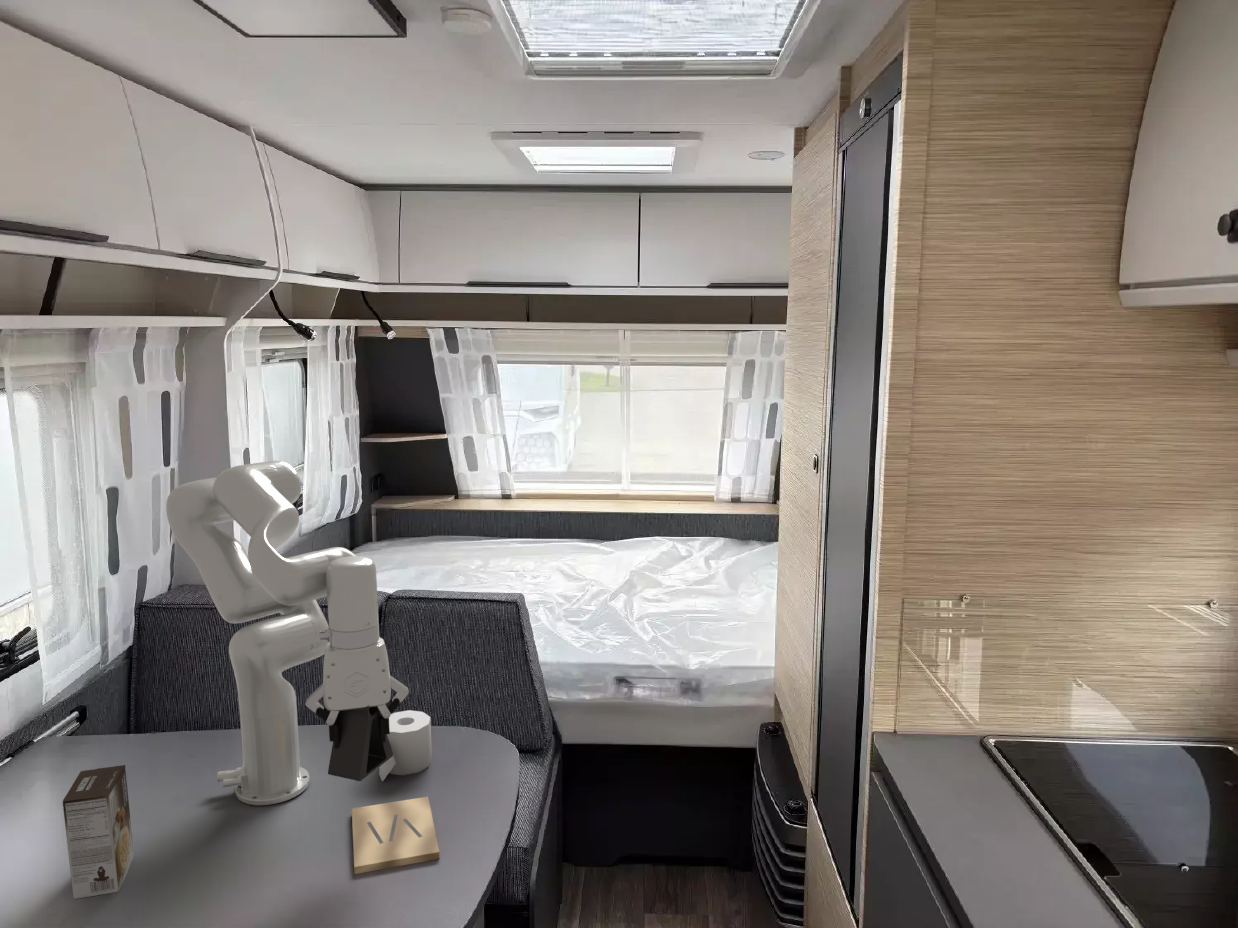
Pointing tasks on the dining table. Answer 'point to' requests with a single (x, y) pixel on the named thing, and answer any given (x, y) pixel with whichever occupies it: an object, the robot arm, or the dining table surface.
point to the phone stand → (359, 744)
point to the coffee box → (98, 831)
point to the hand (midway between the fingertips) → (360, 740)
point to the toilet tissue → (408, 743)
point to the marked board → (393, 835)
